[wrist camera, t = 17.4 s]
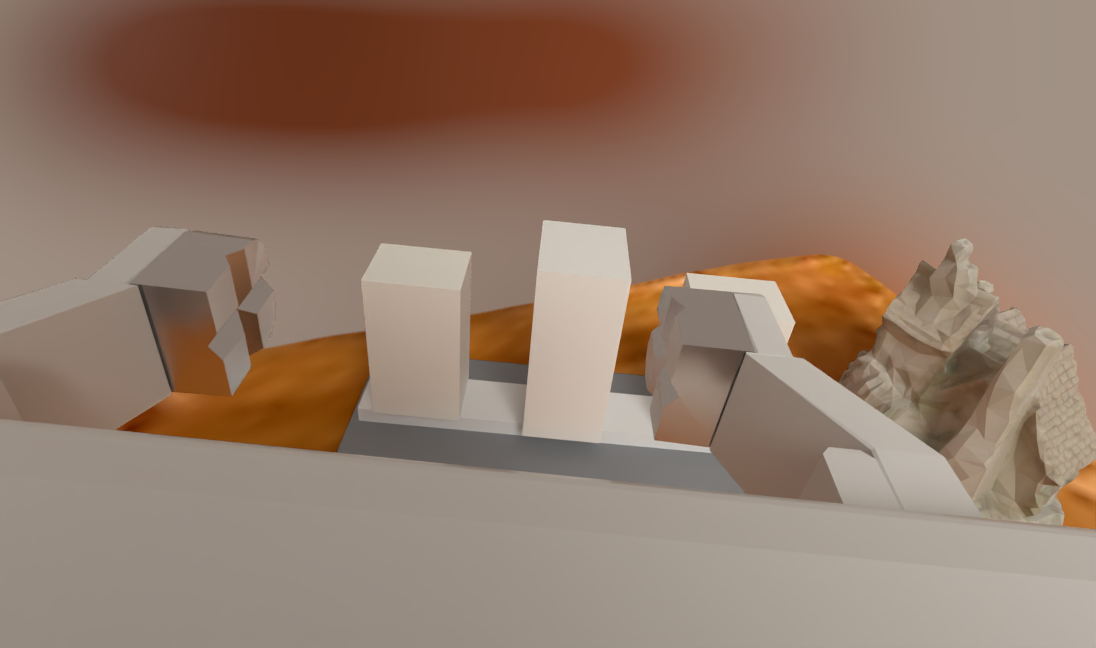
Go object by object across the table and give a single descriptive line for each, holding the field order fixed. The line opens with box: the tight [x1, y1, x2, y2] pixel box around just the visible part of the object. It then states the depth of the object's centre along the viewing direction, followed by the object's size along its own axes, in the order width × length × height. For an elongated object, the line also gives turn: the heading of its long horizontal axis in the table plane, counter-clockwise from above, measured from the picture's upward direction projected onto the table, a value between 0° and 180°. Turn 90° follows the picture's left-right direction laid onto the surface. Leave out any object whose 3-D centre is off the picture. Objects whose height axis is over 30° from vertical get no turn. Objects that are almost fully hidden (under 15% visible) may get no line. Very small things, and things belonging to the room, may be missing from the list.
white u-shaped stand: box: [337, 243, 795, 494], centre depth 37 cm, size 25×10×12 cm, turn 88°
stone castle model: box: [838, 239, 1096, 526], centre depth 39 cm, size 16×16×15 cm
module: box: [522, 220, 631, 443], centre depth 35 cm, size 4×6×11 cm
